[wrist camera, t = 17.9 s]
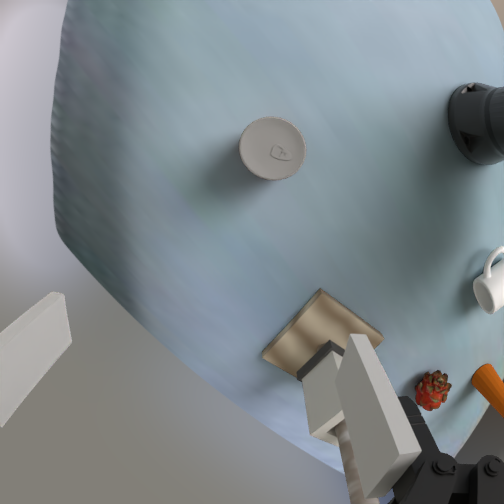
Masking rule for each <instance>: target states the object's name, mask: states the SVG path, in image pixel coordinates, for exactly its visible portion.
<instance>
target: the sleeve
mask: <svg viewBox="0 0 504 504" xmlns="http://www.w3.org/2000/svg"><path fill="white" fill-rule="evenodd" d="M342 358H343V357H342V356H340V355H338V354H337V353H335V352H334V351H331V352H330V353H329V354H328V355H327V356H326V357H325V358H324V359H323V360H322V361H321V362H319V363H318V364H317V365H316V366H315V367H314V368H313V369H312V370H311V371H310V372H309V373H308V374H307V375H306V376H305V377H304V378H302V384H303V391H304V398H305V404H306V411H307V418H308V425H309V432H310V435H311V436H313V437H316V438H318V439H320V440H323V441H325V442H328V443H330V444H333V445H336V446H338V447H339V443H338V439H337V434H336V430H335V426H336V425H337V424H338V423H339V422H341V421H342V420H343V419H344V418H345V417H344V414H343V410H342V406H341V403H340V399H339V395H338V392H337V388H336V384H335V379H336V376H337V373H338V370H339V367H340V364H341V361H342Z"/></svg>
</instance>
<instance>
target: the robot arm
mask: <svg viewBox="0 0 504 504" xmlns="http://www.w3.org/2000/svg"><path fill="white" fill-rule="evenodd" d="M448 120H449V126H450V130H451V134H452V136H453V139H454V141H455V143H456V145H457V147H458V148H459V150H460V151H461V152H462V153H463V154H464V155H465V156H466V157H467V158H468V159H469V160H471V161H473V162H475V163H478V164H485V165H492V164H496V163H498V162H501V161H503V160H504V87H500V88H496V87H492V86H489V85H485V84H482V83H469V84H465V85H462V86H460V87H459V88H458V89H456V91H455V92H454V93H453V95H452V97H451V99H450V103H449V108H448ZM71 343H72V338H71V333H70V328H69V323H68V317H67V311H66V304H65V298H64V294H61V293H57V292H53V291H52V292H51V293H49V294H48V295H47V296H45V297H44V298H43V299H42V300H40V301H39V302H38V303H36V304H35V305H34V306H33V307H31V308H30V309H29V310H28V311H26V312H25V313H24V314H23V315H21V316H20V317H19V318H18V319H16V320H15V321H14V322H13V323H12V324H10V325H9V326H8V327H7V328H6V329H5V330H3V331H2V332H1V333H0V427H1V428H2V427H3V426H4V424H5V423H6V422H7V420H8V419H9V418H10V417H11V415H12V414H13V413H14V411H15V410H16V409H17V407H18V406H19V405H20V404H21V402H22V401H23V400H24V399H25V398H26V396H27V395H28V394H29V393H30V391H31V390H32V389H33V388H34V386H35V385H36V384H37V383H38V382H39V380H40V379H41V378H42V377H43V376H44V374H45V373H46V372H47V371H48V370H49V368H50V367H51V366H52V365H53V364H54V362H55V361H56V360H57V359H58V358H59V357H60V356H61V354H62V353H63V352H64V351H65V350H66V349H67V348H68V347H69V345H70V344H71ZM335 384H336V388H337V392H338V395H339V399H340V403H341V406H342V410H343V414H344V417H345V421H346V425H347V429H348V433H349V437H350V440H351V444H352V448H353V452H354V456H355V460H356V464H357V469H358V473H359V477H360V481H361V485H362V490H363V494H364V498H365V499H371V498H377V497H383V496H385V495H386V494H387V493H388V492H389V491H390V490H391V489H393V492H394V495H395V497H394V498H393V499H392V500H391V501H390V502H389V503H388V504H504V463H503V462H502V460H501V459H499V458H498V457H496V456H493V455H486V456H484V457H482V458H481V459H480V460H479V461H478V463H477V464H476V465H473V464H457V462H456V461H455V459H454V458H453V457H452V456H450V455H448V454H445V453H441V452H440V451H439V449H438V447H437V445H436V443H435V441H434V439H433V437H432V435H431V433H430V431H429V429H428V426H427V424H425V421H424V419H423V417H422V416H421V413H420V411H419V409H418V407H417V405H416V404H415V403H414V402H413V401H412V400H411V399H410V398H409V397H408V396H402V397H397V395H396V393H395V391H394V389H393V387H392V385H391V383H390V381H389V379H388V377H387V375H386V373H385V371H384V369H383V367H382V365H381V363H380V361H379V359H378V357H377V355H376V353H375V351H374V349H373V347H372V345H371V343H370V341H369V339H368V337H367V335H366V334H350V335H349V339H348V342H347V345H346V349H345V352H344V355H343V358H342V361H341V364H340V367H339V370H338V373H337V376H336V379H335Z"/></svg>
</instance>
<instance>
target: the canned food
mask: <svg viewBox="0 0 504 504" xmlns="http://www.w3.org/2000/svg"><path fill="white" fill-rule="evenodd" d="M239 154H240V157H241V160H242V161H243V163H244V165H245V166H246V167H247V169H248V170H249V171H250V172H252V173H253V174H254V175H256V176H258V177H260V178H263V179H266V180H282V179H286V178H288V177H290V176H292V175H293V174H295V173H296V172H297V171H298V170H299V169H300V168H301V166H302V164H303V163H304V160H305V157H306V143H305V140H304V137H303V135H302V134H301V132H300V131H299V129H298V128H297V127H296V126H295V125H293V124H292V123H291V122H289V121H287V120H285V119H282V118H278V117H264V118H260V119H258V120H256V121H254V122H252V123H251V124H249V125H248V126H247V127H246V129H245V130H244V131H243V133H242V135H241V138H240V141H239Z"/></svg>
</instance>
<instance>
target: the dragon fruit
mask: <svg viewBox="0 0 504 504" xmlns="http://www.w3.org/2000/svg"><path fill="white" fill-rule="evenodd" d="M447 380H448V375H447V374H445V373H444V374H443V375H442V373H441V371H439V370H437V371H435V372H433V373H432V374H429V372H427V373H425V375H424V378H423V381H421V382H420V383H418V385H417V386H415V390H416V391H417V394H416V398H415V399H416V403H417V404H418V405H420V406H423V408H424V409H425V410H427V411H432V410H433V409H438V408H439V407H440V405H441V402H442V403H445V401H446V399H447V393H448V392H449V390H450V388H451V387H452V385H451V384H450V383H447Z"/></svg>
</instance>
